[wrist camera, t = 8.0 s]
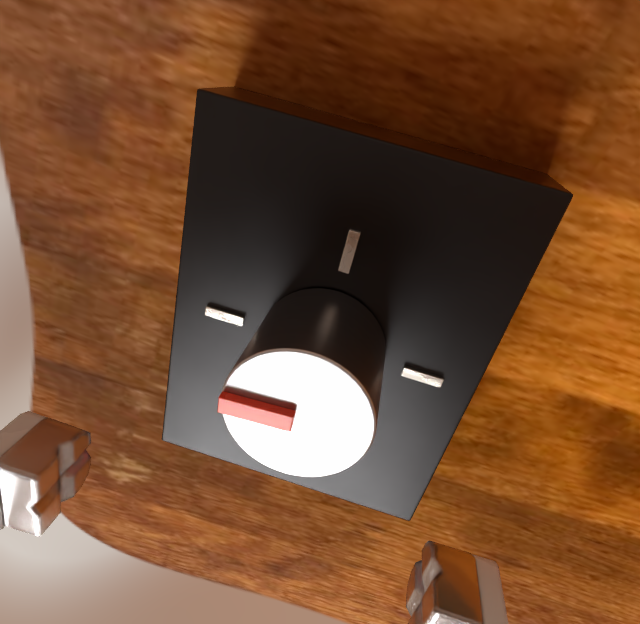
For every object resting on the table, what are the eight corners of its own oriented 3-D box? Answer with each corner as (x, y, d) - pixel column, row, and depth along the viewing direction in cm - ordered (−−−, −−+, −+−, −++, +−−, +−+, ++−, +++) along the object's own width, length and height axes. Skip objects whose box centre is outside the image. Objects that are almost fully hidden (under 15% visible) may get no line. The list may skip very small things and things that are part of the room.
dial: (400, 305, 15) (394, 381, 11) (369, 410, 17) (356, 503, 14) (269, 273, 16) (222, 336, 12) (255, 379, 18) (210, 462, 14)
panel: (411, 469, 22) (410, 525, 19) (190, 398, 23) (159, 443, 20) (548, 174, 16) (577, 195, 13) (232, 85, 16) (193, 88, 13)
